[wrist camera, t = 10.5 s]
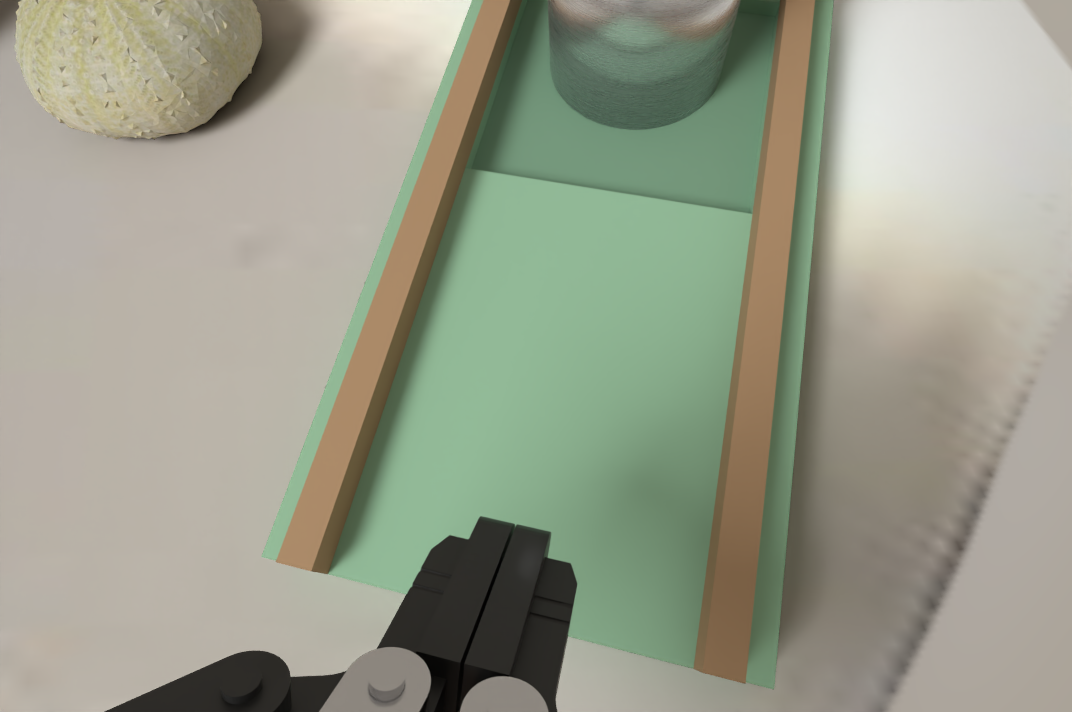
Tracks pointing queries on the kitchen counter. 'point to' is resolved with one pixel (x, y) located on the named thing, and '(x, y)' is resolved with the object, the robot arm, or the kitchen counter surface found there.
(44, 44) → the sea urchin shell
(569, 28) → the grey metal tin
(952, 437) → the kitchen counter surface
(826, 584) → the kitchen counter surface
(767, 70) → the green railed board
